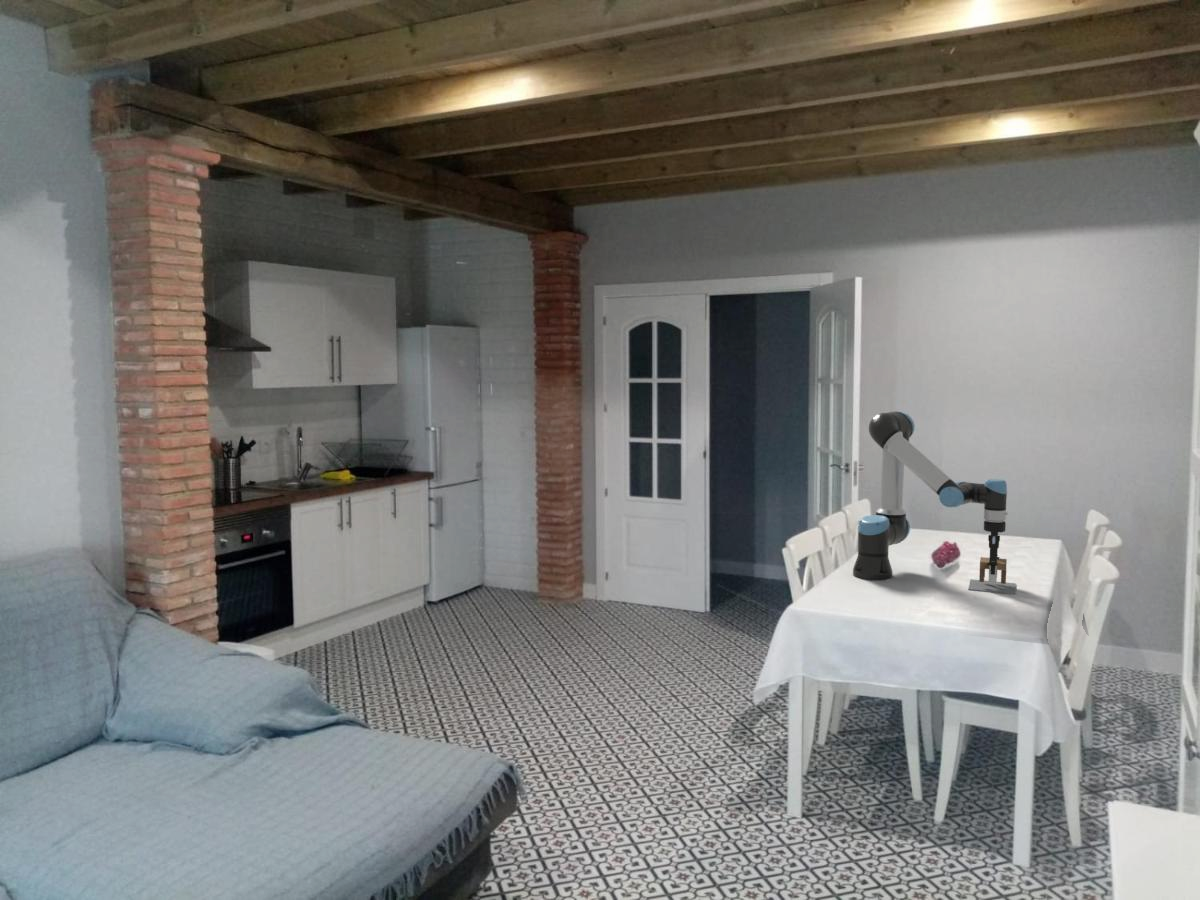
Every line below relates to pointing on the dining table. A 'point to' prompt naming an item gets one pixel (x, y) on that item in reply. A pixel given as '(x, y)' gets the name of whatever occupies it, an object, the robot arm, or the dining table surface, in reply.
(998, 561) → the wooden stool
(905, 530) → the robot arm
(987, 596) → the dining table surface
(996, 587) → the mat
